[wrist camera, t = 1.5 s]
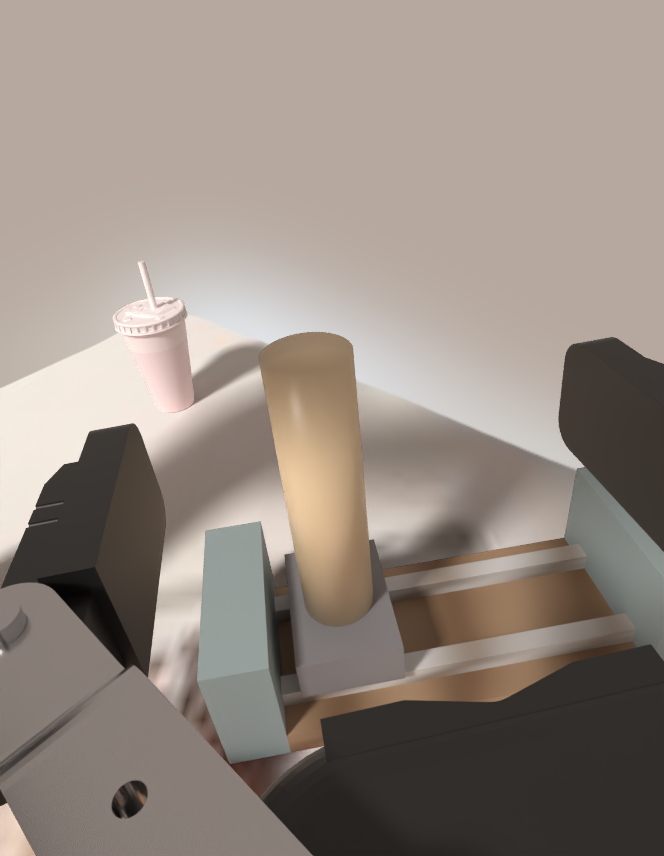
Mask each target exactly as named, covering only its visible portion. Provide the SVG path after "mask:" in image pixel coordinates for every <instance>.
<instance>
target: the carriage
mask: <svg viewBox="0 0 664 856" xmlns="http://www.w3.org/2000/svg"><path fill="white" fill-rule="evenodd" d="M259 363H260V369H261V374H262V379H263V385H264V390H265V395H266V401H267V406H268V411H269V417H270V422H271V428H272V433H273V438H274V444H275V449H276V454H277V460H278V465H279V470H280V476H281V481H282V486H283V492H284V497H285V502H286V508H287V513H288V518H289V524H290V529H291V534H292V540H293V545H294V550H295V553H291V554H285V564H286V574H287V584H288V595H289V605H290V615H291V625H292V635H293V646H294V656H295V666H296V672H297V676H298V681H299V685H300V690H301V694H302V697H307V696H313V695H318V694H323V693H329V692H334V691H339V690H345V689H350V688H356V687H361V686H366V685H372V684H377V683H382V682H388V681H393V680H398V679H404V678H405V663H404V647H403V643H402V639H401V636H400V632H399V629H398V625H397V621H396V618H395V614H394V611H393V607H392V603H391V600H390V596H389V593H388V589H387V585H386V582H385V578H384V575H383V571H382V567H381V564H380V560H379V557H378V553H377V549H376V546H375V542H374V539H373V540H369V535H368V523H367V511H366V499H365V487H364V475H363V463H362V451H361V439H360V427H359V415H358V403H357V391H356V379H355V367H354V355H353V347H352V344H351V343H350V342H349V341H348V340H347V339H345V338H344V337H341V336H339V335H336V334H331V333H324V332H307V333H300V334H294V335H290V336H287V337H284V338H281V339H279V340H277V341H274V342H273V343H271V344H269V345H268V346H267V347H266V348H264V349H263V351H262V352H261V354H260V356H259Z"/></svg>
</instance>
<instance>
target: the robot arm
mask: <svg viewBox="0 0 664 856" xmlns="http://www.w3.org/2000/svg"><path fill="white" fill-rule="evenodd" d="M559 428H560V432H561V436H562V438H563V441H564V443H565V444H566V446H567V447H568V449H569V450H570V451H571V452H572V453H573V454H574V455H575V456H576V457H577V458H578V459H579V461H581V463H582V464H583V465H584V466H585V467H586V468H587V469H588V470H589V471H590V473H591V474H592V475H593V476H594V477H595V478H596V479H597V480H598V481H599V482H600V483H601V485H602V486H603V487H604V488H605V489H606V490H607V491H608V492H609V493H610V494H611V495H612V496H613V498H614V499H615V500H616V501H617V502H618V503H619V504H620V505H621V506H622V507H623V508H624V510H625V511H626V512H627V513H628V514H629V515H630V516H631V517H632V518H633V519H634V520H635V521H636V523H637V524H638V525H639V526H640V527H641V528H642V529H643V530H644V531H645V532H646V533H647V535H648V536H649V537H650V538H651V539H652V540H653V541H654V542H655V543H656V544H657V545H658V546H659V548H660V549H661V550H662V551H663V552H664V364H662V363H659V362H657V361H654V360H651V359H648V358H645V357H643V356H642V355H641V354H639V353H638V352H636V351H635V350H633V349H632V348H630V347H629V346H627V345H626V344H624V343H623V342H622V341H620V340H618V339H617V338H614V337H610V338H605V339H599V340H594V341H588V342H583V343H577V344H573V345H571V346H570V347H569V349H568V350H567V352H566V356H565V363H564V371H563V380H562V390H561V399H560V409H559ZM28 524H29V528H26V530H25V532H24V535H23V537H22V539H21V542H20V544H19V546H18V549H17V551H16V554H15V556H14V558H13V561H12V563H11V566H10V568H9V570H8V573H7V575H6V577H5V580H4V582H3V585H2V587H1V589H0V806H2V805H4V804H5V803H8V805H9V807H10V808H11V810H12V812H13V814H14V816H15V818H16V820H17V821H18V823H19V825H20V827H21V829H22V831H23V833H24V834H25V836H26V838H27V840H28V842H29V844H30V846H31V847H32V849H33V851H34V853H35V855H36V856H664V661H663V659H662V658H661V657H660V655H659V654H658V653H657V651H656V650H655V649H654V647H653V646H652V645H651V644H650V645H645V646H641V647H636V648H632V649H628V650H623V651H619V652H614V653H610V654H606V655H601V656H597V657H592V658H588V659H583V660H579V661H575V662H572V663H570V664H568V665H566V666H564V667H562V668H561V669H559V670H557V671H555V672H553V673H551V674H550V675H548V676H546V677H544V678H542V679H540V680H539V681H537V682H535V683H533V684H531V685H529V686H528V687H526V688H524V689H522V690H520V691H518V692H517V693H515V694H513V695H511V696H509V697H507V698H505V699H503V700H500V701H496V702H466V701H422V700H402V701H398V702H393V703H389V704H385V705H380V706H376V707H371V708H367V709H363V710H358V711H354V712H349V713H345V714H340V715H336V716H332V717H327V718H323V719H320V722H321V729H322V735H323V741H324V747H322V748H321V749H319V750H317V751H315V752H313V753H312V754H310V755H308V756H306V757H305V758H304V759H302V760H301V761H299V762H298V763H297V764H295V765H294V766H292V767H291V768H289V769H288V770H287V771H286V772H285V773H284V774H283V775H282V776H280V777H279V778H278V779H277V780H276V781H275V782H274V783H273V784H272V785H271V786H270V787H269V788H268V789H267V790H266V791H265V792H264V794H263V795H262V796H261V797H260V798H259V797H258V796H257V795H256V794H255V793H254V792H253V791H252V790H251V789H250V787H249V786H248V785H247V784H246V783H245V782H244V781H243V780H242V779H241V778H240V777H239V776H238V775H237V773H236V772H235V771H234V770H233V769H232V768H231V767H230V766H229V765H228V764H227V763H226V762H225V761H224V759H223V758H222V757H221V756H220V755H219V754H218V753H217V752H216V751H215V750H214V749H213V748H212V747H211V745H210V744H209V743H208V742H207V741H206V740H205V739H204V738H203V737H202V736H201V735H200V734H199V733H198V731H197V730H196V729H195V728H194V727H193V726H192V725H191V724H190V723H189V722H188V721H187V720H186V719H185V717H184V716H183V715H182V714H181V713H180V712H179V711H178V710H177V709H176V708H175V707H174V706H173V705H172V704H171V702H170V701H169V700H168V699H167V698H166V697H165V696H164V695H163V694H162V693H161V692H160V691H159V690H158V688H157V687H156V686H155V685H154V684H153V683H152V682H151V681H150V680H149V679H148V672H149V663H150V654H151V646H152V637H153V629H154V620H155V612H156V603H157V594H158V586H159V577H160V569H161V560H162V552H163V543H164V534H165V525H166V518H165V508H164V502H163V498H162V494H161V491H160V488H159V485H158V482H157V479H156V476H155V473H154V471H153V468H152V465H151V462H150V459H149V456H148V453H147V451H146V448H145V445H144V442H143V439H142V436H141V434H140V431H139V429H138V428H137V426H136V425H135V424H127V425H122V426H116V427H111V428H105V429H100V430H94V431H90V432H89V434H88V436H87V439H86V442H85V445H84V447H83V450H82V453H81V456H80V459H79V461H78V462H74V463H68V464H64V465H63V466H62V467H61V468H60V469H59V470H58V471H57V472H56V473H55V474H54V475H53V476H52V477H51V478H50V479H49V480H48V481H47V483H46V484H45V485H44V487H43V489H42V492H41V494H40V496H39V499H38V501H37V504H36V510H34V511H33V513H32V515H31V518H30V520H29V523H28Z"/></svg>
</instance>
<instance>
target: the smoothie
mask: <svg viewBox="0 0 664 856" xmlns="http://www.w3.org/2000/svg"><path fill="white" fill-rule="evenodd" d="M138 265H139V268H140V272H141V275H142V278H143V282H144V285H145V289H146V292H147V296H148V299H143V300H139V301H136V302H133V303H131V304H128V305H126V306H124V307H122V308H121V309H119V310H118V311H117V312H116V313H115V315H114V316H113V321H114V324H115V330H116V331H117V332H118V333H120V334H122V336H123V338H124V340H125V342H126V345H127V347H128V349H129V351H130V353H131V355H132V357H133V359H134V361H135V363H136V365H137V367H138V369H139V372H140V374H141V376H142V378H143V380H144V382H145V384H146V386H147V388H148V390H149V392H150V394H151V397H152V399H153V401H154V403H155V405H156V407H157V409H158V410H159V411H161V412H164V413H174V412H179V411H182V410H184V409H186V408H188V407H190V406H191V405H192V404H193V402H194V400H195V398H194V390H193V382H192V374H191V366H190V358H189V350H188V342H187V333H186V326H185V318H186V317H187V311H186V309H185V305H184V302H183V301H181V300H179V299H177V298H173V297H154V293H153V290H152V287H151V283H150V279H149V276H148V272H147V269H146V265H145V261H139V262H138Z"/></svg>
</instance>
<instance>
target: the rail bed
mask: <svg viewBox="0 0 664 856" xmlns="http://www.w3.org/2000/svg"><path fill="white" fill-rule="evenodd" d="M586 558H587V556H586V554H585V553H584V551H583V550H582V548H581V547H580V545H579V544H574V545H569V544H568V543H567V541H566V540H565V538H561V539H555V540H549V541H543V542H538V543H532V544H526V545H520V546H515V547H509V548H503V549H497V550H492V551H486V552H480V553H475V554H469V555H463V556H457V557H452V558H446V559H440V560H434V561H429V562H423V563H417V564H411V565H406V566H400V567H394V568H388V569H383V570H382V571H383V575H384V578H385V582H386V585H387V589H388V593H389V596H390V600H391V603H392V607H393V611H394V614H395V618H396V621H397V625H398V629H399V632H400V636H401V639H402V643H403V647H404V663H405V678H404V679H398V680H393V681H388V682H382V683H377V684H372V685H366V686H361V687H356V688H350V689H345V690H339V691H334V692H329V693H323V694H318V695H313V696H307V697H302V694H301V690H300V685H299V681H298V676H297V672H296V666H295V656H294V646H293V635H292V625H291V615H290V605H289V595H288V586H285V587H279V588H276V597H274V598H275V611H276V616H277V620H278V627H279V640H280V654H281V667H282V676H280V680H281V694H282V699H283V702H284V706H285V720H286V733H287V739H288V743H289V747H290V750H291V752H295V751H300V750H306V749H311V748H316V747H321V746H324V741H323V735H322V729H321V722H320V719H323V718H327V717H332V716H336V715H340V714H345V713H349V712H354V711H358V710H363V709H367V708H371V707H376V706H380V705H385V704H389V703H393V702H398V701H402V700H422V701H466V702H496V701H500V700H503V699H505V698H507V697H509V696H511V695H513V694H515V693H517V692H518V691H520V690H522V689H524V688H526V687H528V686H529V685H531V684H533V683H535V682H537V681H539V680H540V679H542V678H544V677H546V676H548V675H550V674H551V673H553V672H555V671H557V670H559V669H561V668H562V667H564V666H566V665H568V664H570V663H572V662H575V661H579V660H583V659H588V658H592V657H597V656H601V655H606V654H610V653H614V652H619V651H623V650H628V649H632V648H636V646H635V645H634V643H633V642H632V641H633V638H634V635H635V631H636V628H635V627H634V625H633V624H632V622H631V621H630V619H629V618H628V616H627V615H626V613H623V614H617V615H615V614H614V613H613V611H612V610H611V608H610V607H609V605H608V604H607V602H606V601H605V599H604V598H603V596H602V594H601V593H600V591H599V590H598V588H597V587H596V585H595V584H594V582H593V581H592V579H591V578H590V576H589V575H588V573H587V572H586V570H585V569H584V567H585V562H586ZM243 758H244V757H243ZM257 758H259V757H257ZM231 759H232V758H231ZM235 759H236V758H235ZM250 759H251V758H250ZM238 760H239V759H238ZM251 760H254V759H251ZM233 761H234V760H233ZM233 761H232V762H233ZM243 761H245V759H244V760H243ZM243 761H242V762H243ZM230 762H231V761H230ZM230 762H229V764H231V763H230ZM234 762H235V763H236V762H237V761H234ZM234 762H233V763H234ZM239 762H241V761H239ZM233 763H232V764H233Z"/></svg>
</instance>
